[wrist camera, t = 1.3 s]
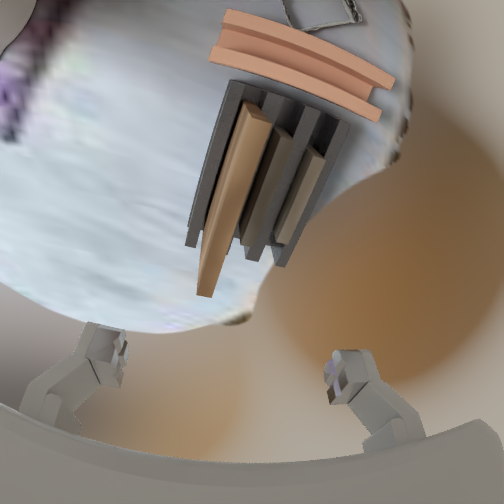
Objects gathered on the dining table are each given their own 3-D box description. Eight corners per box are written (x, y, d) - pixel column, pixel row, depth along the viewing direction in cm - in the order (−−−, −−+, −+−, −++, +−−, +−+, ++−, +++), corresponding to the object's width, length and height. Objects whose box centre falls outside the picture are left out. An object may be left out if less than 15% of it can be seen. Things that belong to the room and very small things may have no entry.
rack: (188, 221, 44) (183, 245, 39) (229, 79, 32) (230, 80, 27) (279, 243, 48) (286, 267, 42) (334, 116, 36) (352, 125, 31)
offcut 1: (237, 214, 42) (240, 244, 36) (270, 123, 35) (281, 136, 28) (248, 216, 43) (252, 247, 36) (281, 127, 35) (295, 141, 29)
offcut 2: (269, 215, 43) (276, 241, 37) (299, 140, 36) (313, 155, 31) (279, 218, 43) (287, 244, 37) (310, 144, 37) (325, 160, 31)
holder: (211, 62, 31) (207, 60, 25) (227, 18, 27) (227, 8, 22) (356, 114, 36) (376, 123, 30) (372, 75, 32) (395, 78, 27)
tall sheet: (204, 218, 42) (196, 294, 29) (241, 98, 33) (252, 117, 20) (215, 221, 43) (211, 297, 30) (253, 102, 33) (272, 124, 20)
